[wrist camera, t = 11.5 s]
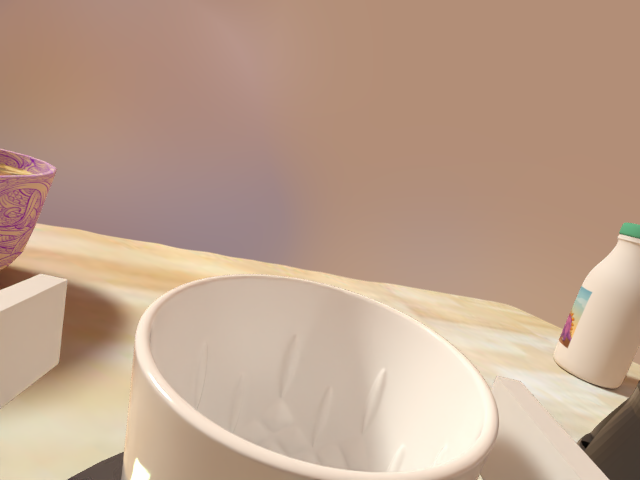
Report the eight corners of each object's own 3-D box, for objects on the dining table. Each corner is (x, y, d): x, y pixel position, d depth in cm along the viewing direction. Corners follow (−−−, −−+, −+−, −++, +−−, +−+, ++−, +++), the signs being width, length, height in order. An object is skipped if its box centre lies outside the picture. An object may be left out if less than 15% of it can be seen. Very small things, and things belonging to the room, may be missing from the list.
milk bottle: (631, 388, 48) (701, 239, 44) (599, 393, 44) (672, 231, 40) (571, 355, 54) (627, 223, 50) (539, 356, 51) (596, 214, 47)
